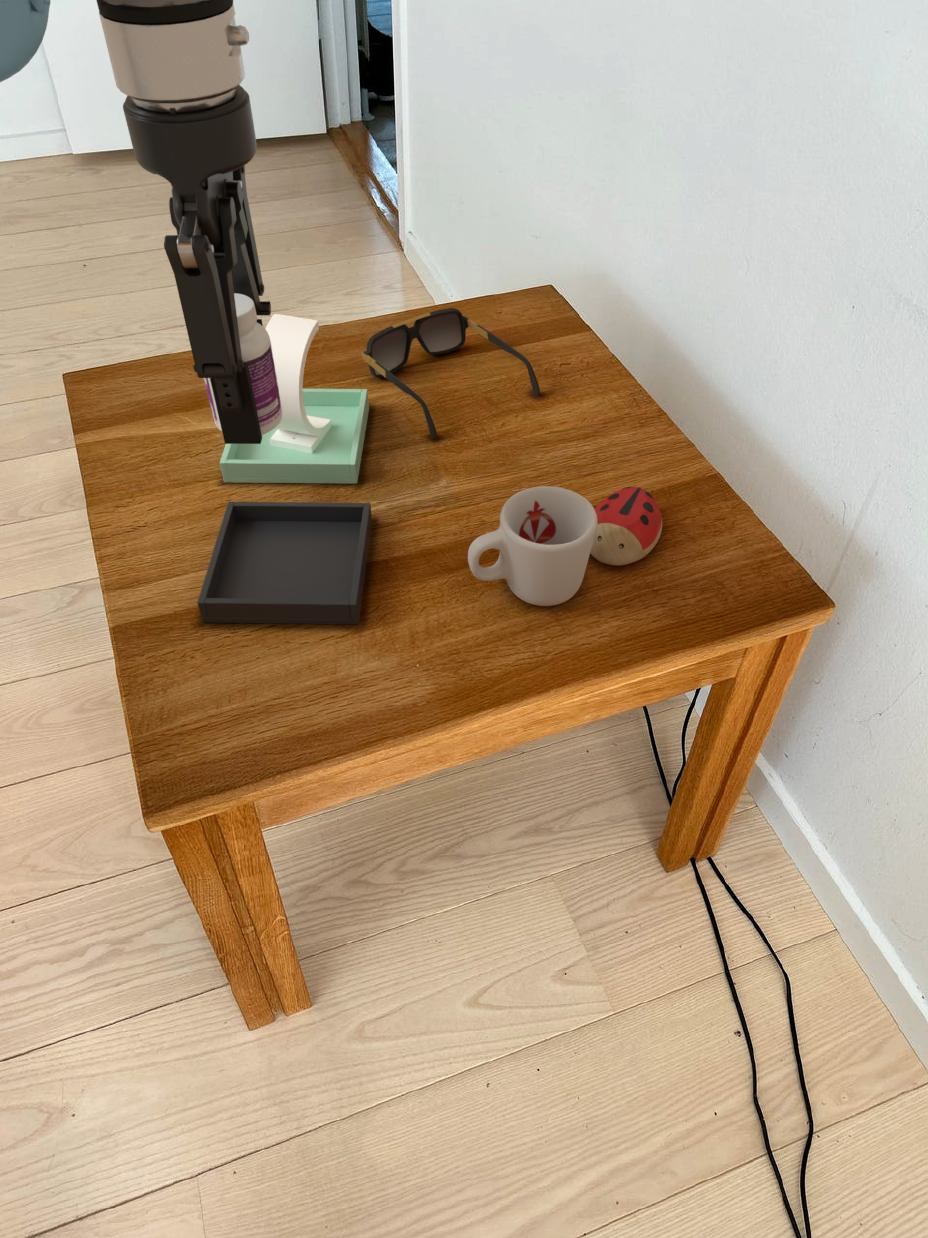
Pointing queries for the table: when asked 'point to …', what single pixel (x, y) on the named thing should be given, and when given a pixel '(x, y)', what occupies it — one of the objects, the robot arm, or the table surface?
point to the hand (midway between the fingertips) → (250, 417)
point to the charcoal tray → (288, 563)
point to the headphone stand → (294, 383)
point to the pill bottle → (255, 366)
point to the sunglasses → (427, 347)
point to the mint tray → (324, 465)
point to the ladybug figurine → (626, 526)
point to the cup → (539, 545)
